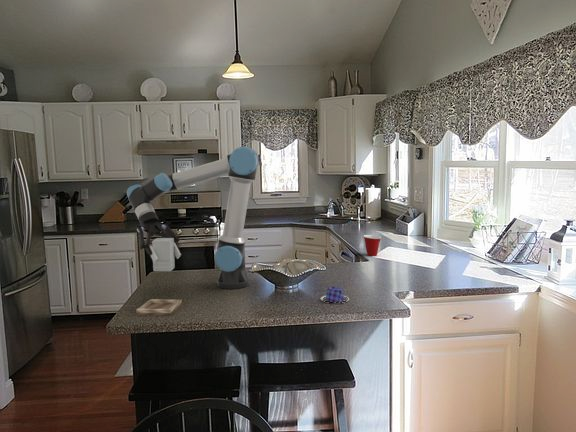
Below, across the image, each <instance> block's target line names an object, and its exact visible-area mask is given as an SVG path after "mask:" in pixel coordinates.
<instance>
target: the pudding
mask: <svg viewBox="0 0 576 432" xmlns="http://www.w3.org/2000/svg"><path fill="white" fill-rule="evenodd" d="M325 293H326V294H325V295H323V296H321V297H320V299H319V300H321V301H322V302H324V303H326V302H325V301H330V302H334V303H336V302H339V303H340V301H345V300H344V297H347V298H348V300H347V301H346V302H348V301H350V298H349V297H348V296H346V295H344V292H343V288H341V287H340V286H330V287H328V288H327V290H326V292H325ZM324 297H326V298H325V299H326V300H325V301H323V298H324ZM327 303H329V302H327ZM342 303H344V302H342ZM329 304H330V303H329Z"/></svg>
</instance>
